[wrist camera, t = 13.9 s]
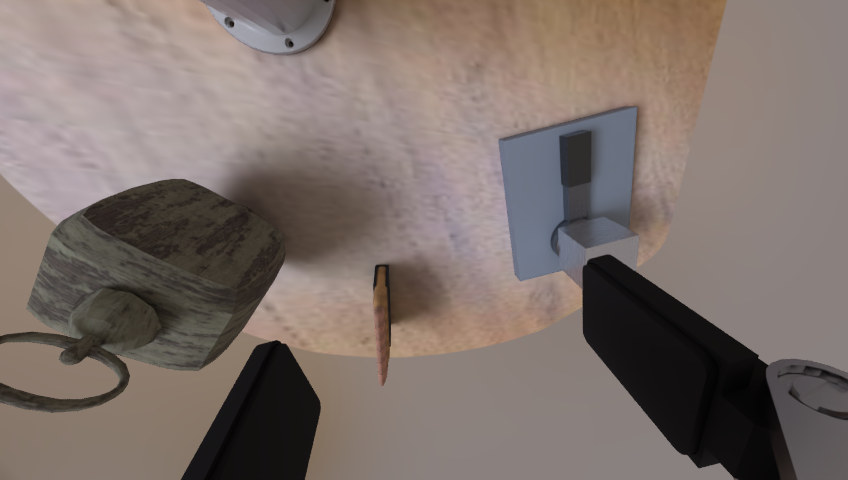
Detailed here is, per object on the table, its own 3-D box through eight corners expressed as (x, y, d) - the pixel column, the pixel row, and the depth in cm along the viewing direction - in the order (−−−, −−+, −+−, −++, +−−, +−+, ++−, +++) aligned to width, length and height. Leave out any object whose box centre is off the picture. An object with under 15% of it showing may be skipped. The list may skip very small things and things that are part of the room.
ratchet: (544, 139, 35) (569, 145, 30) (597, 125, 35) (631, 129, 30) (551, 262, 42) (572, 283, 37) (595, 251, 42) (622, 270, 37)
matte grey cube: (557, 228, 38) (585, 248, 32) (603, 216, 38) (639, 234, 32) (559, 267, 40) (585, 292, 35) (602, 256, 40) (635, 280, 35)
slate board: (498, 139, 37) (504, 141, 35) (624, 106, 36) (637, 106, 35) (514, 274, 45) (520, 281, 43) (617, 247, 45) (627, 253, 43)
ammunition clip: (375, 265, 42) (369, 320, 31) (388, 264, 42) (386, 319, 31) (379, 324, 46) (374, 391, 36) (390, 324, 47) (390, 390, 36)
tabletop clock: (166, 220, 37) (-198, 404, 14) (195, 159, 34) (-194, 264, 12) (278, 275, 41) (139, 483, 19) (310, 226, 39) (195, 395, 16)
